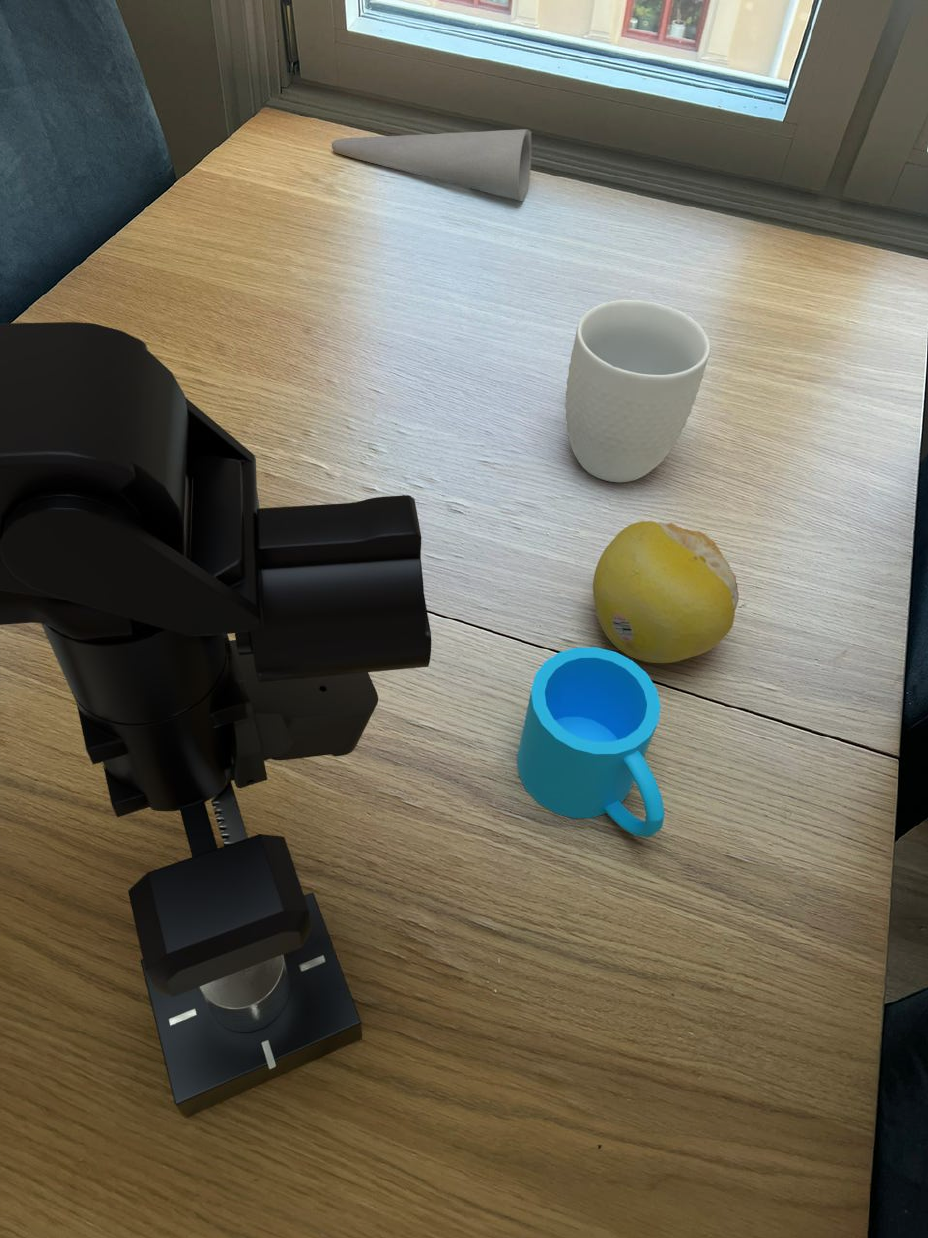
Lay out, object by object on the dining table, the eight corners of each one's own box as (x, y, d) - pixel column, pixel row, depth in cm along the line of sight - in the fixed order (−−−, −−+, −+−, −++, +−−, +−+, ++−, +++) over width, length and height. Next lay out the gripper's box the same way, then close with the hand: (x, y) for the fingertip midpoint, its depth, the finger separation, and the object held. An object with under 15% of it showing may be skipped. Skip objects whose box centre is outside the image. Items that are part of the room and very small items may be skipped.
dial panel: (186, 1124, 49) (176, 1110, 47) (149, 972, 54) (138, 953, 52) (364, 1044, 52) (363, 1027, 50) (314, 907, 57) (311, 885, 55)
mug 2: (494, 744, 65) (506, 676, 59) (589, 699, 68) (610, 629, 62) (593, 888, 59) (618, 828, 53) (692, 831, 62) (727, 769, 56)
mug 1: (526, 403, 90) (543, 279, 80) (631, 390, 92) (661, 269, 82) (577, 508, 81) (604, 383, 71) (692, 492, 83) (734, 369, 73)
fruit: (692, 710, 68) (731, 624, 61) (560, 648, 71) (581, 558, 63) (736, 619, 74) (777, 530, 66) (613, 565, 77) (638, 474, 69)
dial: (300, 1011, 50) (294, 985, 47) (220, 1047, 49) (208, 1022, 46) (275, 937, 53) (268, 907, 49) (198, 969, 51) (185, 940, 48)
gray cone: (307, 140, 113) (518, 148, 108) (329, 110, 118) (531, 116, 113) (318, 203, 119) (519, 213, 114) (339, 172, 124) (531, 180, 119)
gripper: (443, 799, 32) (426, 960, 44) (286, 457, 42) (307, 663, 54) (108, 917, 29) (189, 1056, 41) (28, 514, 39) (111, 720, 51)
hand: (208, 847), depth 47 cm, fingers open, 9 cm apart
